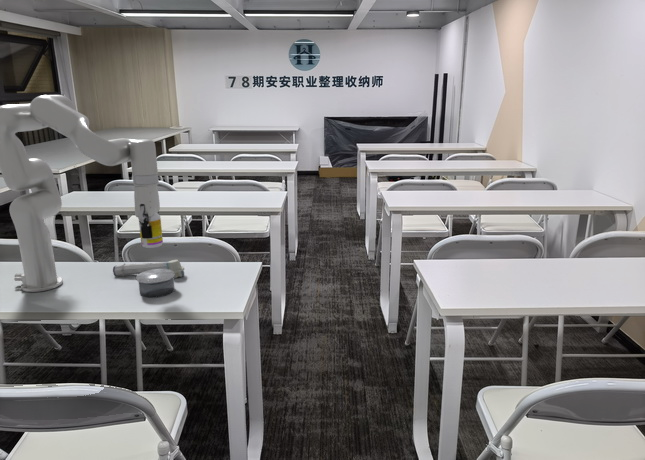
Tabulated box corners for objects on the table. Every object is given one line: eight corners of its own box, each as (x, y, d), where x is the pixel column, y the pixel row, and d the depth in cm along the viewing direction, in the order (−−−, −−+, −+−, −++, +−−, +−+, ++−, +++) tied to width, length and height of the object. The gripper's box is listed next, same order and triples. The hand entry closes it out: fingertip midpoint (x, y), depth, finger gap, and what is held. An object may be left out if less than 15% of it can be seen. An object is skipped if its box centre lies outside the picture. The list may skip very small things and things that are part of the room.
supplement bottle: (167, 243, 166) (164, 205, 163) (153, 249, 160) (149, 209, 157) (151, 241, 169) (147, 203, 165) (136, 246, 163) (132, 207, 160)
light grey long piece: (117, 263, 185) (183, 255, 183) (122, 280, 187) (187, 272, 184) (110, 267, 180) (178, 259, 178) (115, 285, 182) (182, 277, 179)
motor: (132, 298, 163) (130, 281, 162) (146, 283, 176) (144, 267, 174) (169, 298, 163) (168, 281, 161) (181, 283, 176) (179, 267, 174)
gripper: (143, 175, 167) (148, 227, 172) (123, 184, 151) (129, 242, 155) (166, 175, 167) (170, 227, 172) (148, 184, 150) (154, 242, 155)
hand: (151, 234), depth 164 cm, fingers closed on supplement bottle, 6 cm apart
